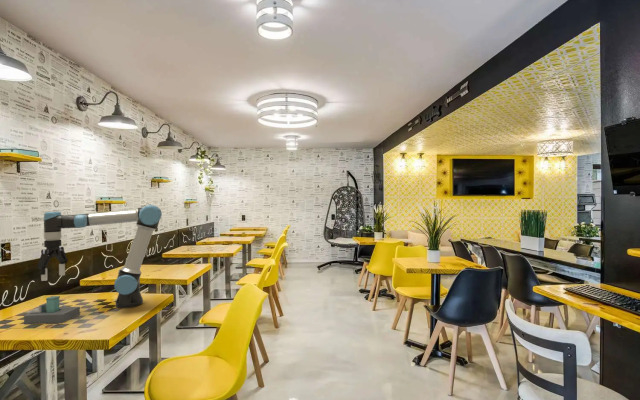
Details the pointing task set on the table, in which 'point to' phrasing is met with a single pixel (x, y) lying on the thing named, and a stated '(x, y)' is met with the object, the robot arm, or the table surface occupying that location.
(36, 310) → the shutter
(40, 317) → the socket
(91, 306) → the table surface
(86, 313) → the table surface
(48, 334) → the table surface
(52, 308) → the plug
